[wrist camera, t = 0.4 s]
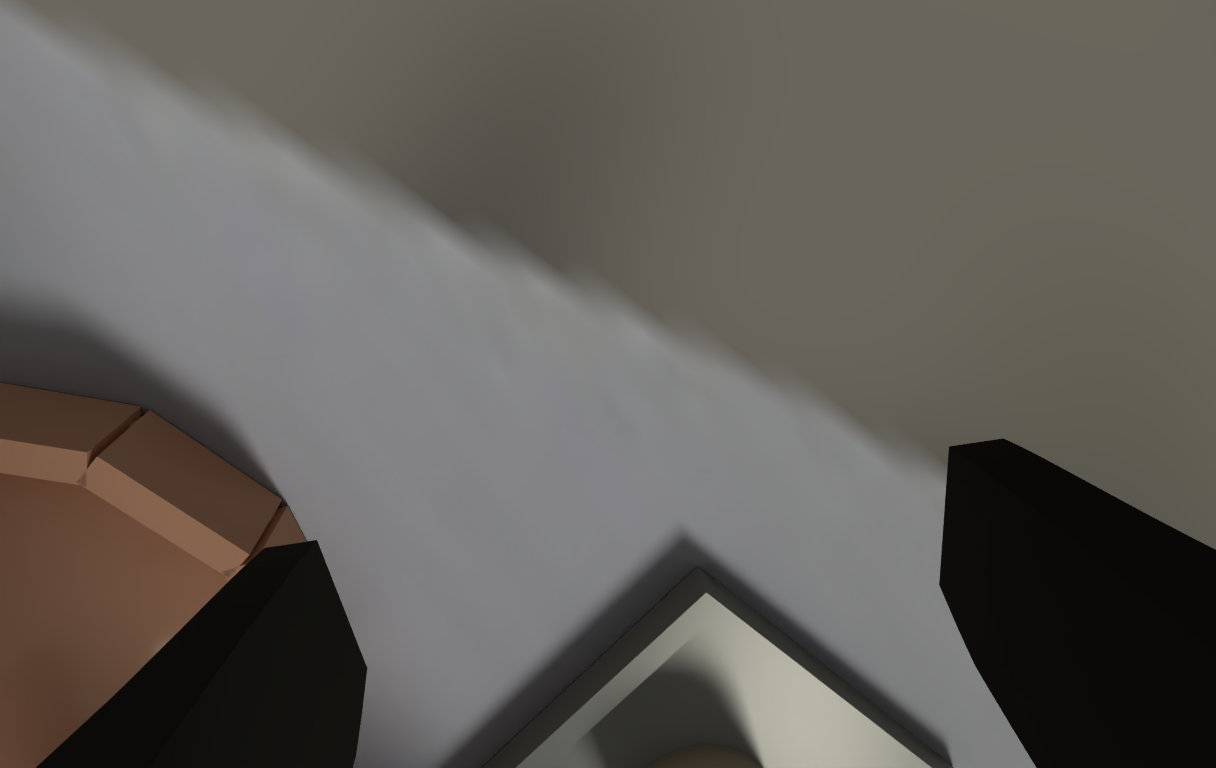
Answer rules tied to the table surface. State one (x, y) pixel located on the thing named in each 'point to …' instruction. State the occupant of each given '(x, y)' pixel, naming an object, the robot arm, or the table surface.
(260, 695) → the robot arm
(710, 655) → the tray
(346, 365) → the table surface
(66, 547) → the orange shallow dish
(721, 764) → the cream domed cylinder
